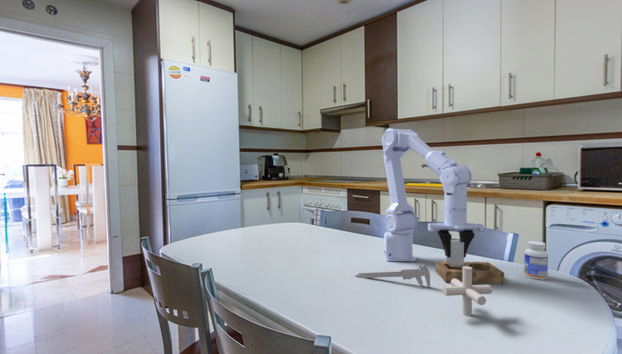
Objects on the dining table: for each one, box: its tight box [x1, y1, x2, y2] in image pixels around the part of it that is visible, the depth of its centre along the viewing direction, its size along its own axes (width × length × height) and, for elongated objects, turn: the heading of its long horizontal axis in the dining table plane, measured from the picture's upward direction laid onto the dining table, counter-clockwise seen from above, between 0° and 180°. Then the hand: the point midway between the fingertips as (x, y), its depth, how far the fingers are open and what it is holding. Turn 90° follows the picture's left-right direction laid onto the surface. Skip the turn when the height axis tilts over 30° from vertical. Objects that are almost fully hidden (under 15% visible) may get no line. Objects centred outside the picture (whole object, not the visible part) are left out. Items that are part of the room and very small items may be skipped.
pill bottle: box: [523, 240, 549, 281], centre depth 88 cm, size 5×5×10 cm
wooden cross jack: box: [441, 266, 493, 317], centre depth 67 cm, size 10×10×10 cm
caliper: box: [354, 263, 431, 289], centre depth 86 cm, size 20×1×6 cm, turn 63°
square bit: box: [446, 239, 465, 268], centre depth 89 cm, size 4×4×7 cm
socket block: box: [435, 260, 505, 285], centre depth 89 cm, size 15×9×3 cm, turn 85°
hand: (455, 256), depth 89 cm, fingers closed on square bit, 3 cm apart
